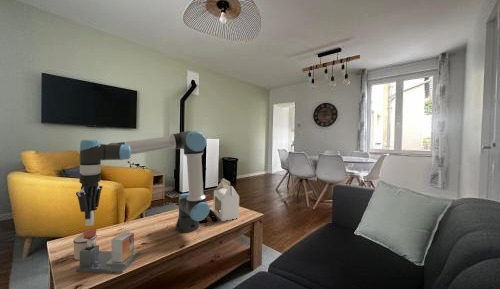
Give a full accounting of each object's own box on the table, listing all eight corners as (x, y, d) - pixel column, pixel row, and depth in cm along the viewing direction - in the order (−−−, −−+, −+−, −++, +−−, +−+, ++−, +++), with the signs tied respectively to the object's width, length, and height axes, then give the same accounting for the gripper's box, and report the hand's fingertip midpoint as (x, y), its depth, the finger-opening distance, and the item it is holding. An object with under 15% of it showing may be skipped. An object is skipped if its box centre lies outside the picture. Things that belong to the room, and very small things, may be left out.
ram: (98, 250, 96) (98, 229, 96) (90, 256, 92) (91, 233, 91) (88, 250, 96) (88, 228, 96) (80, 256, 92) (80, 233, 91)
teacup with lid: (94, 257, 101) (94, 234, 101) (70, 262, 97) (70, 238, 96) (98, 246, 111) (99, 224, 111) (77, 249, 107) (77, 227, 107)
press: (139, 254, 104) (139, 238, 104) (122, 272, 90) (122, 254, 90) (99, 253, 104) (99, 237, 104) (76, 271, 90) (76, 252, 90)
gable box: (213, 211, 169) (214, 177, 168) (228, 209, 175) (229, 176, 174) (222, 221, 149) (223, 183, 148) (238, 218, 155) (239, 182, 154)
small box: (121, 263, 94) (122, 240, 94) (111, 261, 95) (111, 239, 94) (134, 253, 102) (134, 232, 102) (124, 252, 103) (124, 231, 102)
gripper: (92, 171, 99) (92, 219, 100) (69, 176, 86) (68, 231, 87) (108, 171, 99) (107, 219, 100) (87, 176, 86) (86, 231, 87)
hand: (89, 224), depth 94 cm, fingers closed
